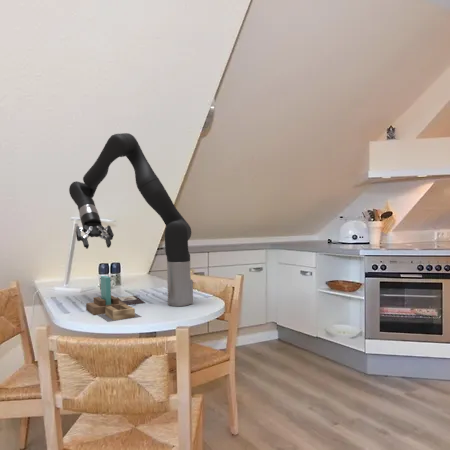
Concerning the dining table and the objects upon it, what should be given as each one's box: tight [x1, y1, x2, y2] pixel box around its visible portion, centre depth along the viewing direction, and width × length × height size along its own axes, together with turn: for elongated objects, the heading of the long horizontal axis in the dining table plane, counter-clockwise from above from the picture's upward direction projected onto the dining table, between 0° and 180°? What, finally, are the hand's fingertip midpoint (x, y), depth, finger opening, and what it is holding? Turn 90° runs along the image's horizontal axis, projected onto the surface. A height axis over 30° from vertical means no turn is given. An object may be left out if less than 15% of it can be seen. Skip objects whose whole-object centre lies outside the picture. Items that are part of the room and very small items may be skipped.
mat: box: [97, 312, 142, 323], centre depth 153 cm, size 12×12×1 cm
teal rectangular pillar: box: [100, 275, 112, 305], centre depth 162 cm, size 2×6×10 cm, turn 33°
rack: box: [105, 304, 136, 321], centre depth 153 cm, size 7×9×3 cm
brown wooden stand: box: [85, 294, 126, 316], centre depth 162 cm, size 12×10×5 cm
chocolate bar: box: [115, 295, 146, 306], centre depth 181 cm, size 9×1×18 cm
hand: (98, 246), depth 172 cm, fingers open, 8 cm apart
